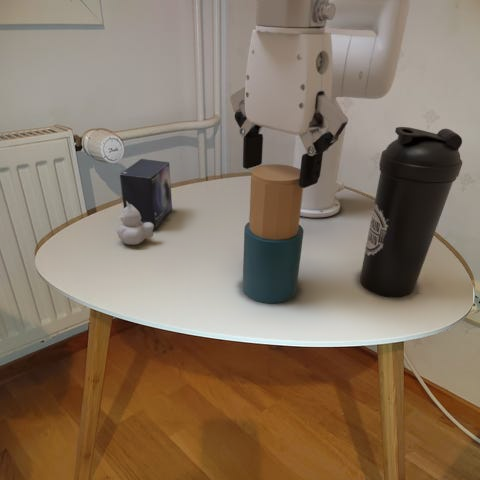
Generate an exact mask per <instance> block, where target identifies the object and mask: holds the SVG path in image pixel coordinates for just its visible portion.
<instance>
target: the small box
mask: <svg viewBox="0 0 480 480" xmlns="http://www.w3.org/2000/svg"><path fill="white" fill-rule="evenodd" d="M119 182H120V190H121V196H122V206H123V209H124V208H125V207H127V204H126V201H127V202H128V203H129V204H132V205H133V206H134V207H135V208H136V209H137V210H138V211H139V213H140V215H141V220H140V221H141V222H142V223H146V222H149V223H152V224H153V225H154V228H153V231H156V230H157V229H158V228H159V226H161V225H162V224H163V222H164V221H165V220H166V219H167V218H168V217H169V215H171V213H172V212H173V200H172V187H171V186H172V185H171V170H170V162H169V161H163V160H162V161H161V160H156V159H155V160H154V159H148V158H147V159H146V158H140V159H139V160H137V161H136V162H135V163H133V164H132V165H130V166H128V167H127V168H126V169H125V170H123V171H121V172H120V173H119Z"/></svg>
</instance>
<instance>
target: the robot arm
mask: <svg viewBox="0 0 480 480" xmlns="http://www.w3.org/2000/svg"><path fill="white" fill-rule="evenodd" d="M410 5H411V0H256V6H255V7H256V9H255V29H253V30H252V33H251V37H250V42H249V50H248V55H247V63H246V73H245V85H244V87H243V88H240V90H238V91H236V92H235V93H233V94H231V95H230V103H231V106H232V110H233V112H234V120H235V122H236V125H238V127H239V135H240V136H241V137H243V143H242V145H243V146H242V167H243V169H245V170H249V169H251V168H256V167H258V166H261V165H262V163H263V147H264V133H260V132H261V130H262V129H263V128H266V129H269V130H273V131H278V132H281V133H285V134H290V135H295V140H294V141H295V142H294V151H293V152H294V153H293V163H292V167H296V168H298V169H300V179H299V186H300V187H302V188H303V194H302V203H301V212H300V217H305V218H314V219H315V218H326V217H331V216H334V215H336V214H338V213H339V211H340V209H341V203H340V201H339V200H337V199H336V195H337V193H339V192H342V191H344V190H345V184H344V182H342V181H339V182H338V176H339V169H340V163H341V158H342V151H343V145H344V138H345V134H346V127H347V125H348V123H349V122H348V121H349V117H348V116H347V115H346V114H345V113H344V111H343V109H342V107H341V105H340V104H339V102H338V99H337V98H354V99H366V100H368V99H369V100H377V99H382V98H384V97H386V96H387V94H388V93H389V92H390V91H391V90H392V86H393V84H394V81H395V77H396V73H397V68H398V64H399V59H400V54H401V50H402V45H403V39H404V35H405V30H406V25H407V19H408V15H409V10H410ZM326 28H327V29H329V28H330V29H336V30H352V31H371V32H374V34H375V35H376V36H366V35H365V36H364V35H352V34H334V33H333V34H332V33H331V32H326Z"/></svg>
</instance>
